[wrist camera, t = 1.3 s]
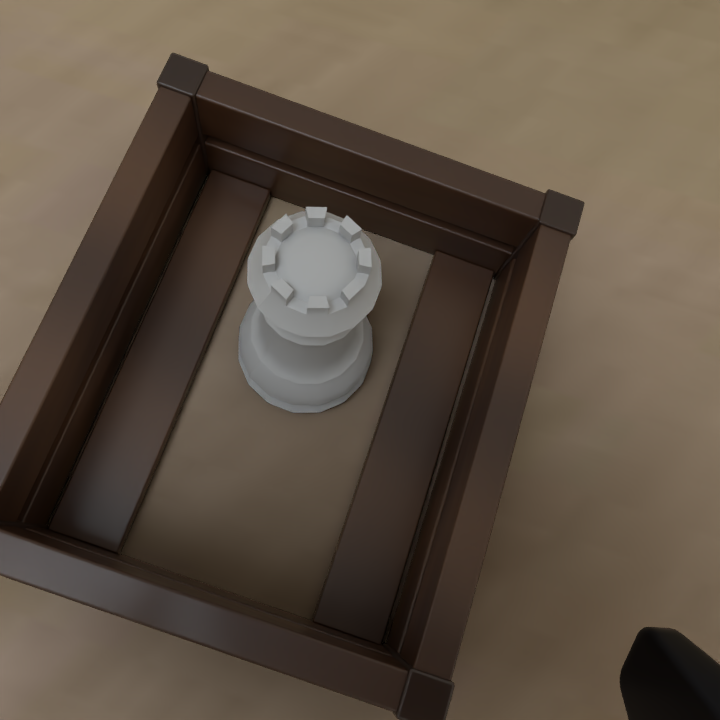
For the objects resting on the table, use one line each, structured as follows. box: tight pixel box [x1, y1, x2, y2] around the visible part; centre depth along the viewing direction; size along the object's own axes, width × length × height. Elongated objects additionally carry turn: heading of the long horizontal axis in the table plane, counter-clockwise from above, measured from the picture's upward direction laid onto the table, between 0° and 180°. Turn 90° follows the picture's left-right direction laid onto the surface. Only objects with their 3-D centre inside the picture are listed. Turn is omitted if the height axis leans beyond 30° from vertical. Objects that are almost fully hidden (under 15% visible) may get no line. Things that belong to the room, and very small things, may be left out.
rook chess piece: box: [239, 207, 382, 413], centre depth 19 cm, size 4×4×8 cm
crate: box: [0, 53, 584, 720], centre depth 21 cm, size 15×13×5 cm
